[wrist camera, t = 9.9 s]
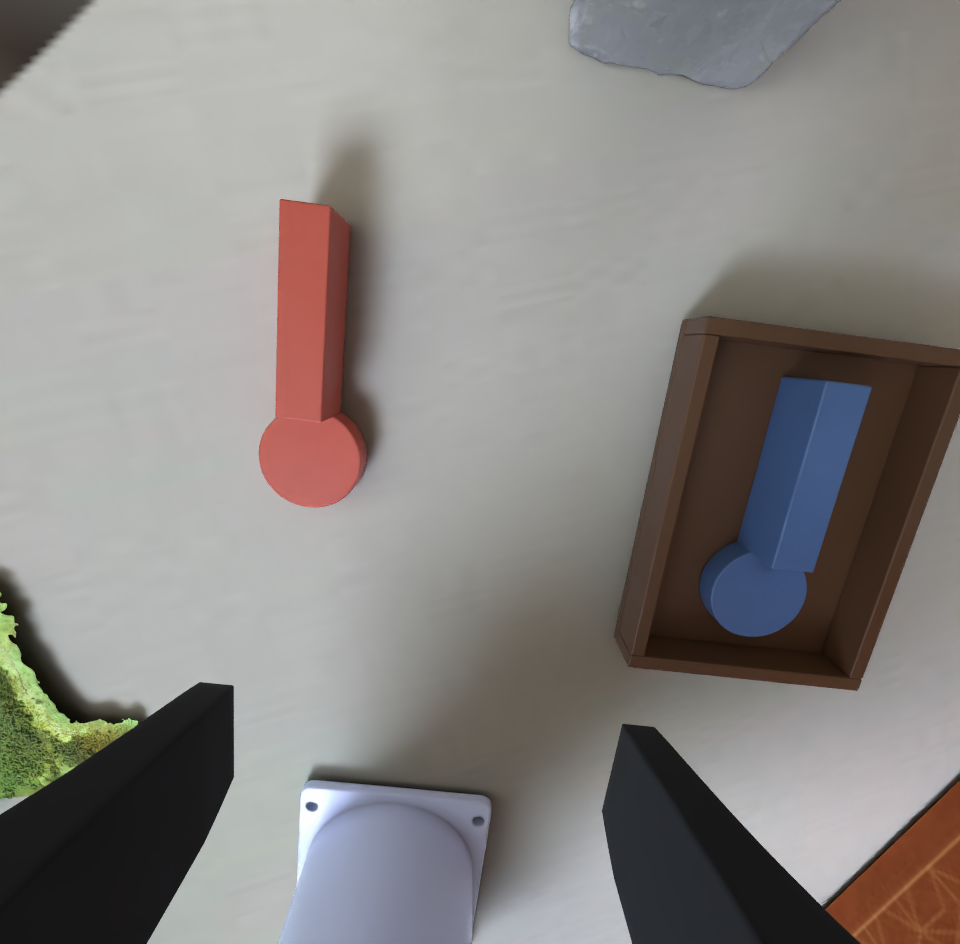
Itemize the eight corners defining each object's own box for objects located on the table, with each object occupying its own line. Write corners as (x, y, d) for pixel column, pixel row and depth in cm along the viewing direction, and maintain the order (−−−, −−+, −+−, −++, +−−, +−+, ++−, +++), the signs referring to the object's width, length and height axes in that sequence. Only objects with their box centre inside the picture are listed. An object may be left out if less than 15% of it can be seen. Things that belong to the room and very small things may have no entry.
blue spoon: (776, 626, 19) (814, 662, 16) (689, 617, 18) (716, 652, 16) (850, 384, 16) (906, 390, 14) (752, 372, 16) (794, 376, 14)
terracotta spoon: (364, 504, 18) (348, 525, 16) (269, 493, 18) (241, 513, 15) (382, 229, 15) (367, 210, 13) (274, 214, 15) (241, 193, 13)
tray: (822, 658, 19) (858, 691, 18) (613, 636, 19) (628, 667, 17) (927, 351, 16) (984, 352, 15) (681, 319, 16) (708, 316, 14)
